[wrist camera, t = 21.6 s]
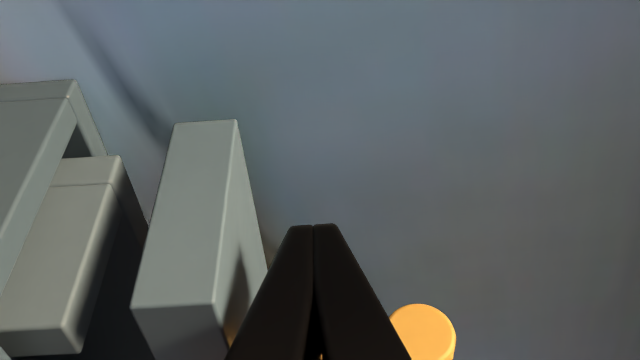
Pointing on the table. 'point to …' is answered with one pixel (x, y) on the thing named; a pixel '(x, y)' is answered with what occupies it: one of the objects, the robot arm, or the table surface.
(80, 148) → the cabinet
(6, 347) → the drawer
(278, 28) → the table surface
